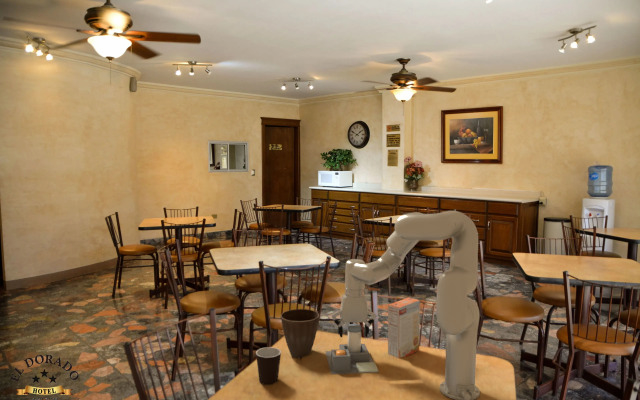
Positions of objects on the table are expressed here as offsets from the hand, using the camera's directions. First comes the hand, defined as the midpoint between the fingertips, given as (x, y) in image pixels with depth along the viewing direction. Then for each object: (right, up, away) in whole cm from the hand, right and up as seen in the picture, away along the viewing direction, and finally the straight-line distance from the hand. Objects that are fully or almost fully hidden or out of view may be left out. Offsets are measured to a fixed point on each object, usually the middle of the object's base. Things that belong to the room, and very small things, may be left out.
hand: (353, 335), depth 178 cm
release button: (-5, -7, -9) cm, 13 cm away
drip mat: (+4, -10, -9) cm, 14 cm away
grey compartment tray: (-1, -9, -4) cm, 10 cm away
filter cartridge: (0, -8, 0) cm, 8 cm away
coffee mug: (-30, -10, -16) cm, 36 cm away
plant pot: (-21, -9, +4) cm, 23 cm away
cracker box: (+20, -9, +6) cm, 23 cm away
